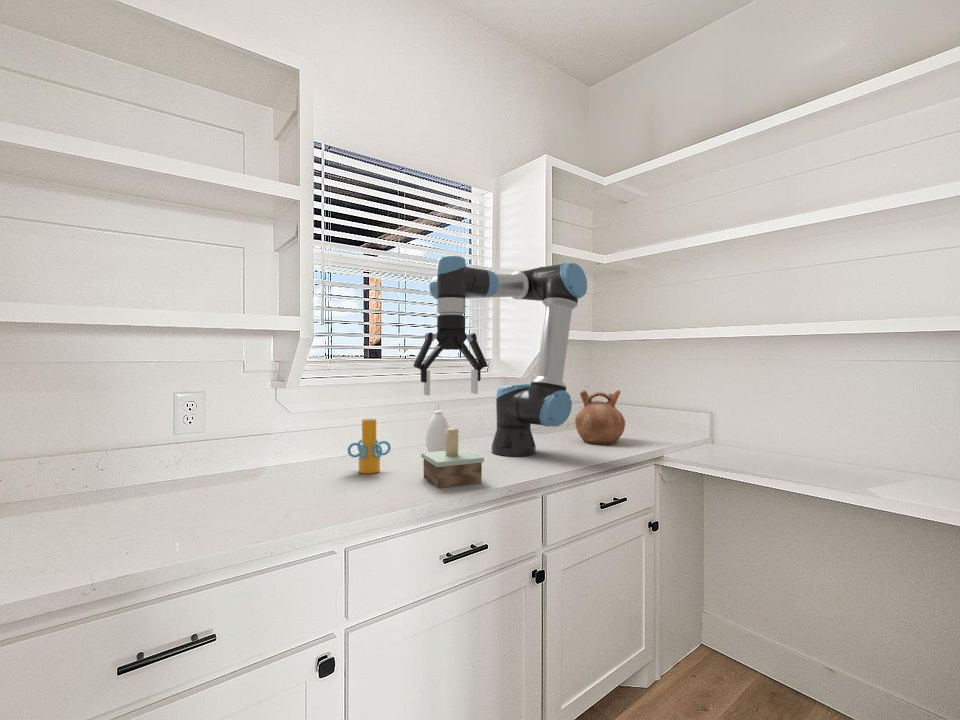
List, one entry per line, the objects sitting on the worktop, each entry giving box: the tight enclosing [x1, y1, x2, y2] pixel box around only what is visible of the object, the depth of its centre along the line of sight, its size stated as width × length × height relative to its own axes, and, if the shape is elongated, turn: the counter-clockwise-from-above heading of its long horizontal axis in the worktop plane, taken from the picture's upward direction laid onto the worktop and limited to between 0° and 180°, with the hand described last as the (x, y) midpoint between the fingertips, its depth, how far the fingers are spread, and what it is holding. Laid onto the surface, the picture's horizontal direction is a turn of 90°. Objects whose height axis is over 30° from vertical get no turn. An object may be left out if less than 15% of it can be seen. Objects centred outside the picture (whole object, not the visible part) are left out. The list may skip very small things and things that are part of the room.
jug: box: [574, 389, 626, 446], centre depth 192 cm, size 18×18×20 cm
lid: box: [420, 427, 485, 467], centre depth 135 cm, size 13×13×8 cm
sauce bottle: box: [425, 402, 450, 452], centre depth 162 cm, size 8×8×18 cm
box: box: [423, 459, 483, 489], centre depth 135 cm, size 12×12×6 cm
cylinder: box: [347, 418, 392, 475], centre depth 145 cm, size 12×10×15 cm
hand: (451, 394), depth 135 cm, fingers open, 13 cm apart
